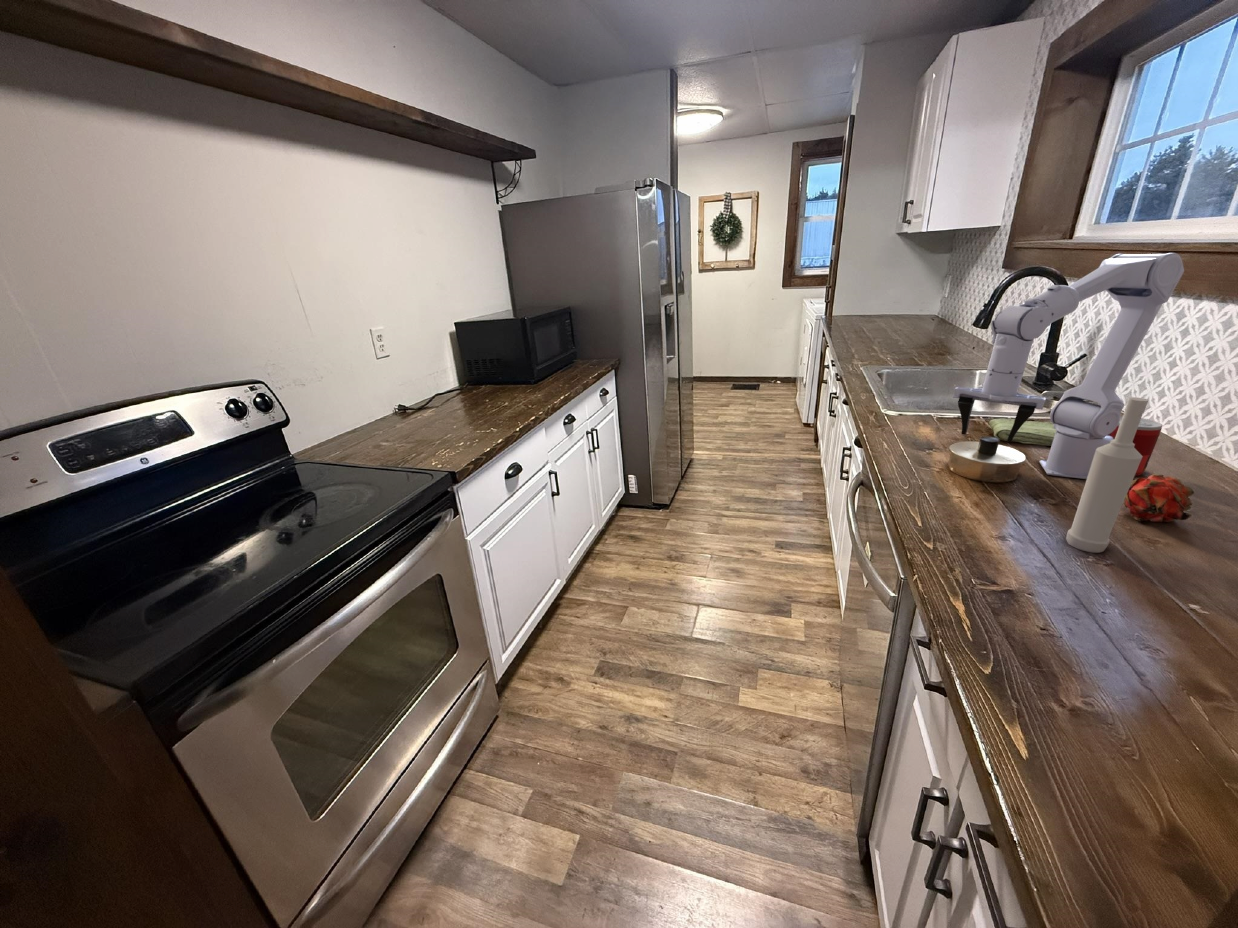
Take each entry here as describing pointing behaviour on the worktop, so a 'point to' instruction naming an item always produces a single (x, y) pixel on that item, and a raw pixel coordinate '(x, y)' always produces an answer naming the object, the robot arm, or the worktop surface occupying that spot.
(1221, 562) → the worktop surface
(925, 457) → the worktop surface
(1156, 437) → the canned food
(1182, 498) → the dragon fruit
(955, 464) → the pot
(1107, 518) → the bottle
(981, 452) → the lid
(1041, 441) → the washcloth
